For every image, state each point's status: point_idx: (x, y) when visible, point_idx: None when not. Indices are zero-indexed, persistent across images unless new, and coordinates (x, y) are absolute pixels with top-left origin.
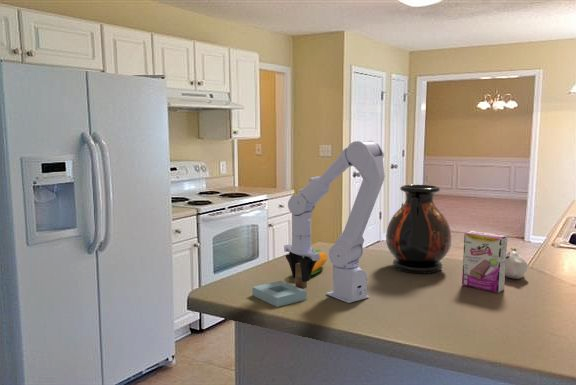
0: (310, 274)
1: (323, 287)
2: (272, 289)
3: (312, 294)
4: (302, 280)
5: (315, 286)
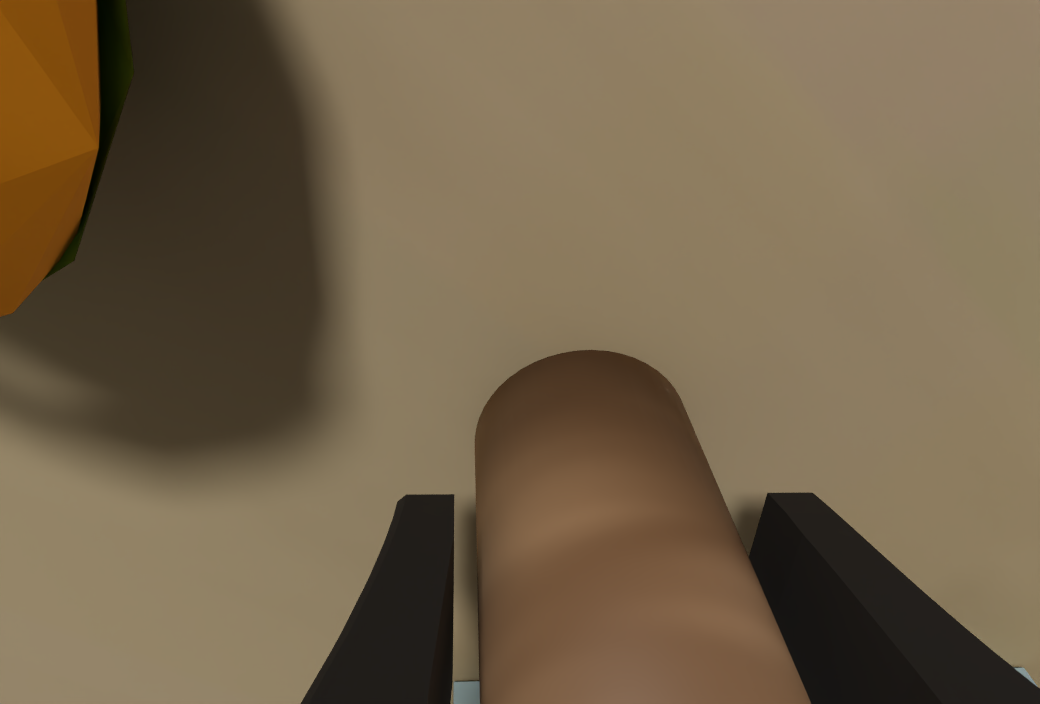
0: (920, 601)
1: (951, 130)
2: None
3: (983, 516)
4: None
5: (766, 220)
